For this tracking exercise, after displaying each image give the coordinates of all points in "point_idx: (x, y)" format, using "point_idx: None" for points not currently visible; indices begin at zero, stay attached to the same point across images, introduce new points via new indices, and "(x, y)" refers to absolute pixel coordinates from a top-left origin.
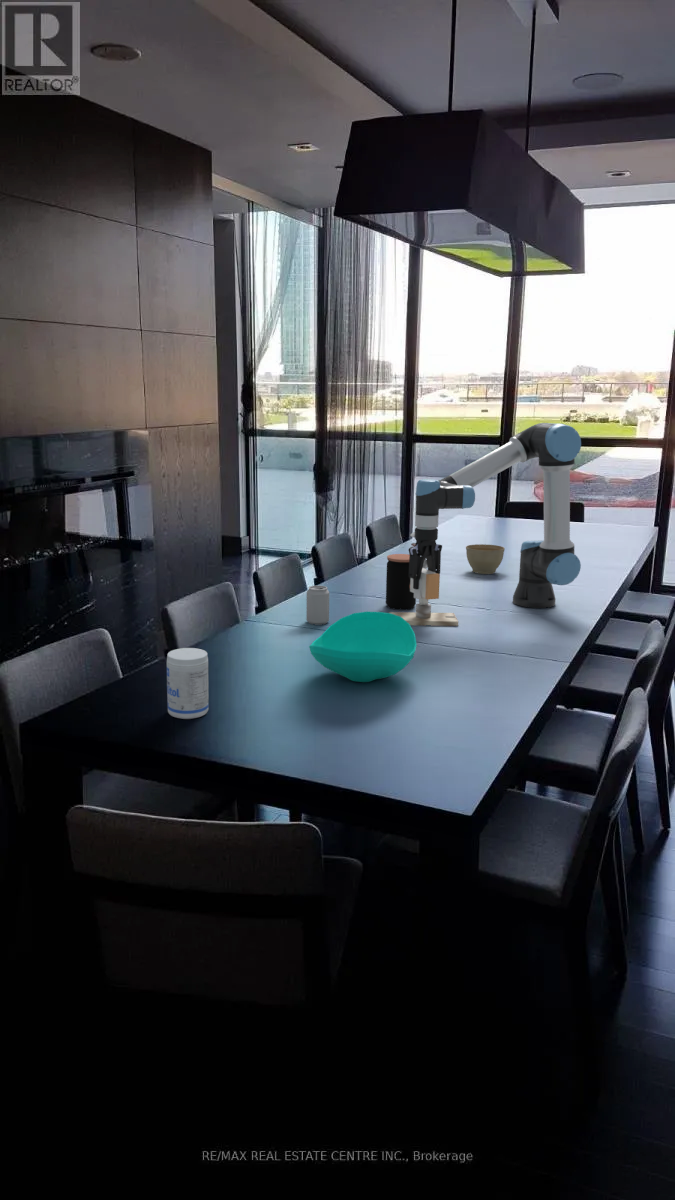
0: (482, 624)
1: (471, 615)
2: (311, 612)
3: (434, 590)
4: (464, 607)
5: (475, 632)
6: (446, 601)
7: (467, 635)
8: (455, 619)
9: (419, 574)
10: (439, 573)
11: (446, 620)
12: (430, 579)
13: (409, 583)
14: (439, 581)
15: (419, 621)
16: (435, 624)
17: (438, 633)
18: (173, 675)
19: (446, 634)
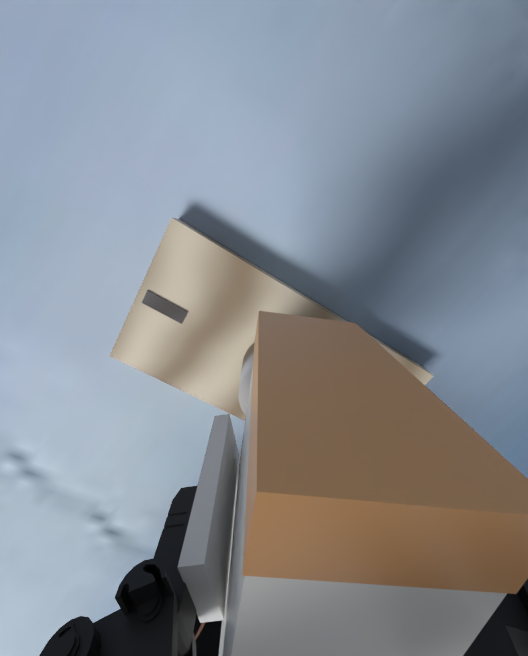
0: (45, 180)
1: (27, 337)
2: None
3: (313, 342)
4: (3, 439)
5: (162, 54)
6: (36, 519)
7: (241, 20)
8: (164, 258)
9: (486, 639)
10: (65, 630)
11: (217, 264)
12: (441, 433)
13: (209, 623)
14: (258, 385)
15: (336, 316)
16: (273, 276)
17: (349, 151)
18: None
19: (328, 110)
